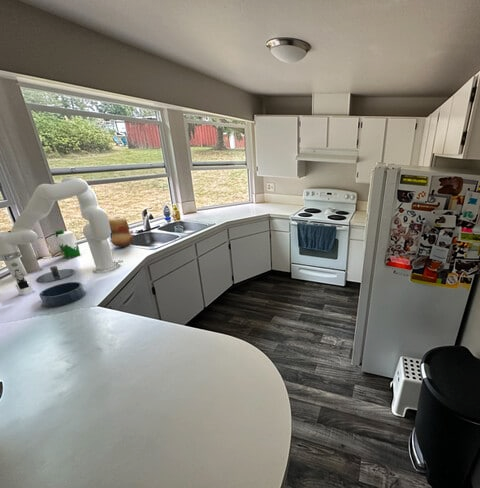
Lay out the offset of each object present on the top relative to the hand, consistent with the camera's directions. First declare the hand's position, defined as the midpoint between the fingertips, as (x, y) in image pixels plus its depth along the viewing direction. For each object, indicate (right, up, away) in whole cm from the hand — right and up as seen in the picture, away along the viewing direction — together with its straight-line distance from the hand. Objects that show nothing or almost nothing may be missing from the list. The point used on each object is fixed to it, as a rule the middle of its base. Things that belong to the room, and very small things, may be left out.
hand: (23, 285), depth 136 cm
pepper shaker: (0, -5, +2) cm, 5 cm away
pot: (+25, -7, -2) cm, 26 cm away
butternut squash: (-1, +21, +69) cm, 72 cm away
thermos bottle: (-25, +5, +25) cm, 36 cm away
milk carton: (-24, +14, +50) cm, 57 cm away
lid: (-3, +3, +20) cm, 20 cm away
